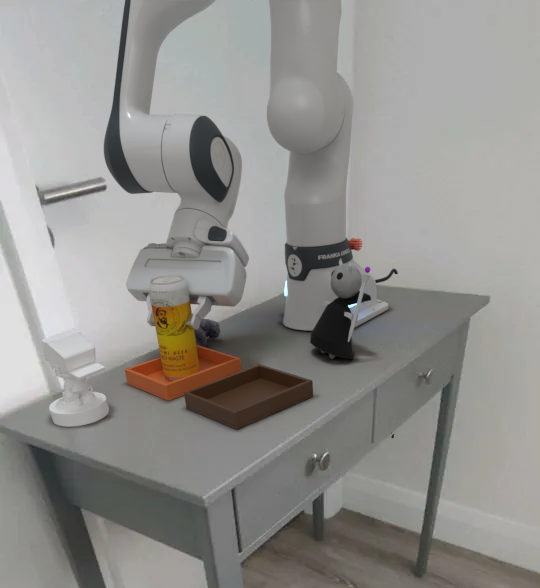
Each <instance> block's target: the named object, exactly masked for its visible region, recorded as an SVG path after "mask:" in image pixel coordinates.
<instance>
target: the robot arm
mask: <svg viewBox="0 0 540 588" xmlns="http://www.w3.org/2000/svg"><path fill="white" fill-rule="evenodd" d="M216 1H217V0H124V6H123V12H122V13H123V14H122V19H121V20H122V21H121V29H120V38H119V46H118V54H117V61H116V63H117V64H116V72H115V79H114V89H113V96H112V104H111V110H110V114H109V117H108V122H107V126H106V130H105V134H104V139H103V157H104V161H105V165H106V168H107V169H108V171H109V173H110V175H111V176H112V178H113V179H114V181H115V182H116V183H117V184H118V185H119V186H120V187H121V188H122V189H123V190H124V191H125V192H126V193H128V194H130V195H138V194H140V195H141V194H151V193H164V194H165V193H166V194H167V193H168V194H177V196H179V199H180V203H179V204H178V206H177V208H176V210H175V212H174V213H173V218H172V221H171V225H170V228H169V232H168V234H167V238H166V242H163V243H155V242H151V243H148V244H147V246H144V247H143V248H141V249H140V250H139V252H138V254H137V256H136V258H135V260H134V262H133V263H132V267H131V269H130V271H129V274H128V276H127V279H126V282H125V283H126V284H125V286H126V289H127V291H128V292H129V294H130V295H131V296H132V297H133V298H134V299H135V300H137V301H138V302H146V305H147V310H148V314H147V318H146V322H147V324H148V325H149V326H151V327H155V322H154V317H153V311H152V305H151V300H150V294H149V285H150V279H152V278H154V277H157V276H162V275H169V274H178V275H183V276H184V279H185V281H186V282H187V284H188V290H189V297H190V304H191V305H197V307H196V308H195V310H194V311H193V312H192V314H188V316H187V320H186V326H187V327H189V329H195V330H198V329H199V326H200V322H201V320H202V319H205V318H206V317H207V315H209V313H210V312H211V310H212V306H218V307H231V308H233V307H236V306H237V305H238V304H239V303H240V302H242V301H241V300H242V298H243V295H244V291H245V288H246V281H247V269H246V267H247V266H248V264H249V262H250V261H249V260H250V257H249V254H248V252H247V250H246V248H245V247H244V245H243V243H242V242H241V240H240V239H239V237H238V236H237V235H236V233H235V232H234V231H233V230H232V229H229V228H228V225H229V222H230V220H231V219H232V217H233V215H234V212H235V209H236V206H237V202H238V198H239V193H240V187H241V183H242V182H241V181H242V175H243V158H242V155H241V152H240V150H239V148H238V146H237V145H236V144H235V143H234V142H233V141H232V140H231V139H230V138H228V137H227V136H226V135H223V133H222V132H221V130H220V129H219V126H217V125H216V123H215V122H214V121H213V120H212V119H211V118H210V117H209V116H208V115H201V114H187V113H186V114H184V113H174V114H151V104H152V99H153V98H152V97H153V90H154V83H155V76H156V68H157V62H158V56H159V52H160V49H161V47H162V44H163V43H164V41H165V40H166V38H167V37H168V35H170V33H172V32H173V31H174V30H175V29H176V28H177V27H178V26H179V25H181V24H183V23H184V22H185V21H187V20H189V19H190V18H192V17H194V16H196V15H197V14H199V13H201V12H203V11H205V10H206V9H208V8H209V7H210V6H211V5H213V4H214V3H215V2H216ZM268 5H269V6H268V7H269V14H270V15H269V17H270V57H269V58H270V60H269V97H268V100H267V101H268V102H267V106H266V121H267V126H268V130H269V132H270V134H271V137H272V138H273V139H274V141H275V142H276V143H277V144H278V145H279V146H280V147H282V148H283V149H285V150H286V151H288V152H289V156H288V157H289V158H288V167H287V178H286V184H285V188H284V193H283V196H284V197H283V198H284V215H285V218H284V219H285V235H286V237H285V238H286V242H285V243H284V260H285V261H284V263H285V264H284V265H285V267H286V271H287V272H286V273H287V274H286V280H285V285H284V297H285V303H284V310H283V319H282V324H283V325H284V326H285V327H286V328H288V329H292V330H297V331H310V332H312V331H313V329H314V327H315V325H316V324H317V322H318V320H319V319H320V317H321V315H322V313H323V312H324V310H325V308H326V307H325V306H323V303H324V300H325V301H330V302H333V301H334V300H335V299H336V298H338V296H337V295H336V294H335V293H334V292H333V291H332V288H331V274H332V272H333V271H334V270H335V269H336V268H337V267H338V266H339V260H340V258H341V260H342V263H343V264H350V262H351V264H352V265H354V266H355V267H356V268H357V269H358V270H359V271H360V273H361V277H362V274H365V275H369V276H370V278H369V279H368V281H367V283H366V286H365V290H364V293H365V294H368V295H370V296H371V300H370V301H365V302H361V305H360V308H359V312H358V320H357V321H356V323H355V327H354V329H355V328H357V327H358V326H360V325H362V324H364V323H366V322H368V321H370V320H372V319H374V318H375V317H377V316H380V315H381V314H382V313H384V312H386V311H388V310H389V309H390V308H389V307H390V306H389V305H390V304H389V303H388V302H386V301H385V300H382V299H379V298H378V290H377V284H378V283H383V282H386V281H388V280H389V279H390V278H391V277H392V276H393V275H394V274H395V275H398V274H399V272H398V270H397V269H396V268H392V269H391V270H390V272H388V275H386V276H385V277H382V278H377V279H376V278H375V277H374V276H373V274H371V273H370V272H369V273H366V272H365V268H364V267H363V266H361V264H359V263H358V262H357V261H356V260H355V259H354V255H353V252H352V251H357V252H359V251H361V250H362V248H363V240H362V239H361V238H354V237H352V238H350V239H348V238H347V184H348V183H347V182H348V174H349V173H348V172H349V165H350V164H349V163H350V154H351V141H352V126H353V125H352V124H353V113H354V97H353V94H352V93H353V92H352V90H351V87H350V86H349V84H348V81H346V79H345V78H344V77H343V75H341V73H339V72H338V55H339V54H338V52H339V36H340V24H341V18H342V11H343V10H342V0H268ZM362 283H363V277H362ZM361 286H362V284H361ZM360 290H361V287H360ZM360 290H359V291H360ZM356 305H357V304H353V305H348V306H349V308H350V311H351V314H354V312H355V309H356ZM351 324H352V320H351ZM390 436H391V435H390ZM394 437H395V433H394V434H393V435H392V436H391V437H390V438H391V439H394Z"/></svg>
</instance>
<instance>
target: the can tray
mask: <svg viewBox="0 0 540 588" xmlns="http://www.w3.org/2000/svg"><path fill="white" fill-rule="evenodd" d="M196 346H197V353H198V360H199V367H200V369H199V371H198V372H197V373H195V374H192V375H189V376H186V377H184V378H181V379H178V380H175V381H173V380H170V379H168V377H167V376H166V375H165V374H164V372H163V367H162V361H161V356H159V357H155V358H154V359H151V360H148V361H145V362H141V363H139V364H136V365H133V366H130V367H127V368H124V375H125V378H126V383H127V385H129V386H131V387H134V388H136V389H138V390H141V391H143V392H147V393H148V394H151V395H153V396H155V397H158V398H160V399H162V400H165V401H167V402H169V401H172V400H175V399H179V398H180V397H183V396H184V393H185V392H187V391H190V390H192V389H195V388H198V387H200V386H203V385H205V384H208V383H211V382H213V381H216V380H219V379H221V378H224V377H227V376H229V375H232V374H235V373H237V372H240V371H243V369H242V360H241V357H238V356H235V355H232V354H228V353H225V352H221V351H218V350H215V349H212V348H208V347H206V346H204V347H203V346H199V345H196Z"/></svg>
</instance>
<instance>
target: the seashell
mask: <svg viewBox="0 0 540 588" xmlns="http://www.w3.org/2000/svg"><path fill="white" fill-rule="evenodd" d="M194 332H195V339H196V345H199V346H203V347H206V345H207V340H210V341H214V340H216V339H218V338H219V337H220V334H221V326H220V324H219V323H218V322H217V321H215V320H212V319H209V318H203V319H202V320H201V322H200V326H199V329H198V330H195V329H194ZM207 338H208V339H207Z"/></svg>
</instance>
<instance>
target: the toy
mask: <svg viewBox="0 0 540 588" xmlns="http://www.w3.org/2000/svg"><path fill="white" fill-rule="evenodd" d="M364 269H365V272H366V273H370V272H371V266H366V267H365V268H364ZM362 277H363V283H362ZM362 277H361V273H360V271H359V270H358V269H357V268H356V267H355V266H354V265H352V264H351V262H350V264H343V263H342V260H341V258H340V260H339V266H338V267H337V268H336V269H335V270H334V271H333V272H332V274H331V288H332V291H333V292H334V293H335V294H336V295H337V296H338V298H336V299H335V300H334V301H333V302H330V301H325V300H324V303H323V306H325V307H326V308H325V310H324V312H323V313H322V315H321V317H320V319H319V320H318V322H317V324H316V325H315V327H314V329H313V331H311V334H310V340H309V343H310V344H311V345H312V346H314V347H315V348H316V349H318V350H320V353H321V354H325V353H326V354H328V356H329V359H332V360H334V358H335V357H338V358H341V359H347V360H353V359H354V358H355V356H354V349H353V342H352V341H353V339H352V337H353V336H352V335H353V333H354V330H355V328H356V327H355V323H356V321H357V320H358V312H359V308H360V305H361V302H365V301H370V300H371V296H370V295H368V294H365V293H364V290H365V286H366V283H367V281H368V279H369V278H370V276H369V275H365V274H362ZM361 284H362V286H361ZM360 287H361V290H360ZM359 290H360V291H359ZM353 304H357V305H356V309H355V312H354V314H351V311H350V308H349V306H348V305H353ZM351 320H352V324H351ZM354 327H355V328H354Z"/></svg>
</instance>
